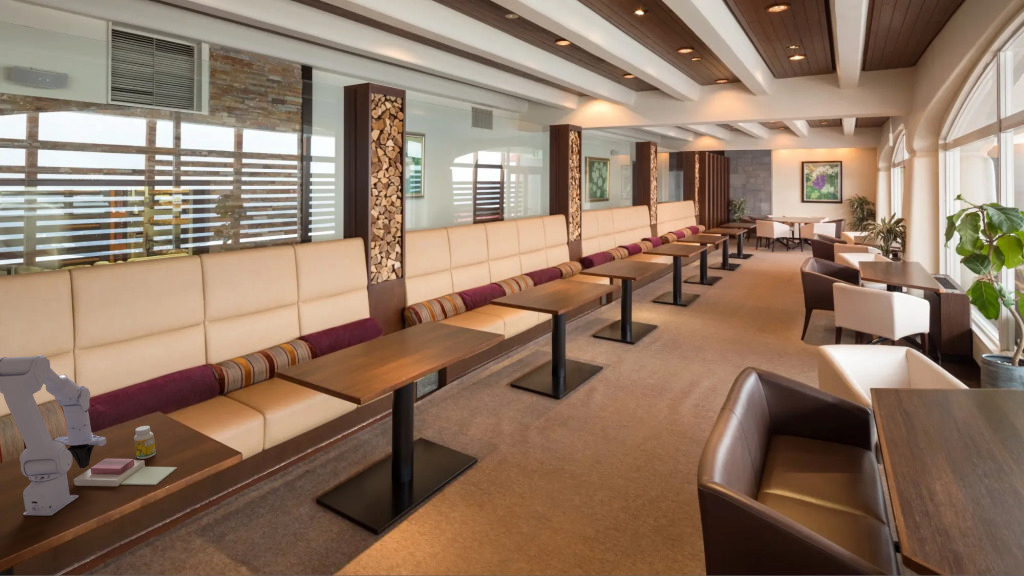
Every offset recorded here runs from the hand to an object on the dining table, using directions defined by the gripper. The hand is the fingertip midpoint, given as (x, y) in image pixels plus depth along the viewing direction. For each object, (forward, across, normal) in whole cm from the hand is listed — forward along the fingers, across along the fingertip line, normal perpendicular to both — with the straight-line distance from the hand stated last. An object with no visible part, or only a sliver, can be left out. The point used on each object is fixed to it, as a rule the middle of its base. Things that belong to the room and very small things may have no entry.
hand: (84, 466), depth 171 cm
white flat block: (+3, -8, 0) cm, 8 cm away
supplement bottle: (+3, -10, -13) cm, 17 cm away
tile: (0, -9, 0) cm, 9 cm away
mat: (+3, -20, 0) cm, 20 cm away
